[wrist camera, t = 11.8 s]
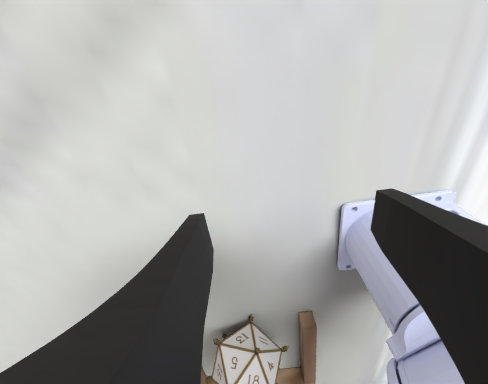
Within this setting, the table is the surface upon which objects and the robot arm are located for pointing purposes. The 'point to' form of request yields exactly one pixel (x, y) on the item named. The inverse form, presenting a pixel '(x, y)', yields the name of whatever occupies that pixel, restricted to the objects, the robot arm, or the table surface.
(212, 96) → the table surface
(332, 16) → the table surface
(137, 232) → the table surface
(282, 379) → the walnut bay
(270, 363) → the game die
